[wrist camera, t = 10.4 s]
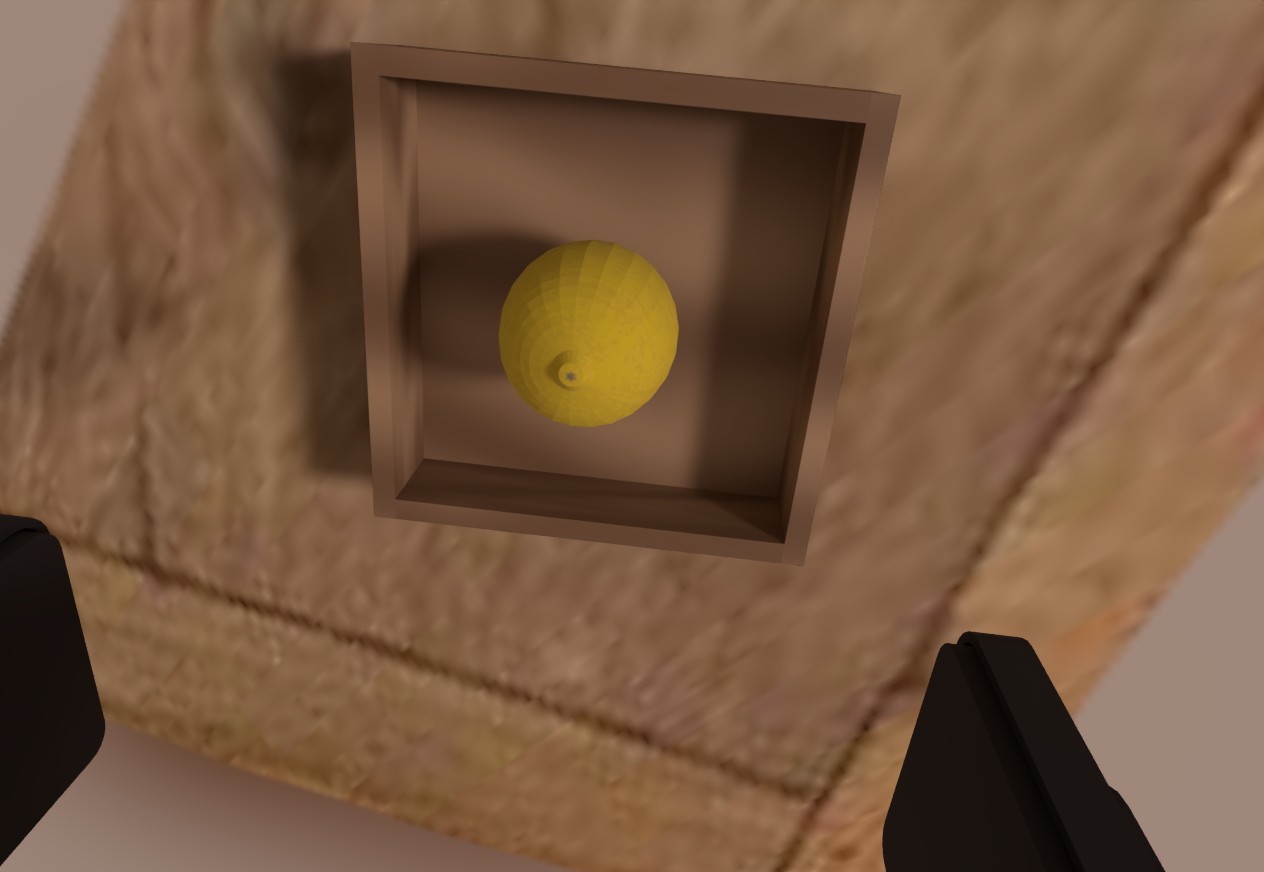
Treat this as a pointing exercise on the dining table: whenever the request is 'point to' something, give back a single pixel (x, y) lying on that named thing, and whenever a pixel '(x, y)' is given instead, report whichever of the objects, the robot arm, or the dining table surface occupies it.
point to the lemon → (588, 333)
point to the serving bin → (643, 222)
